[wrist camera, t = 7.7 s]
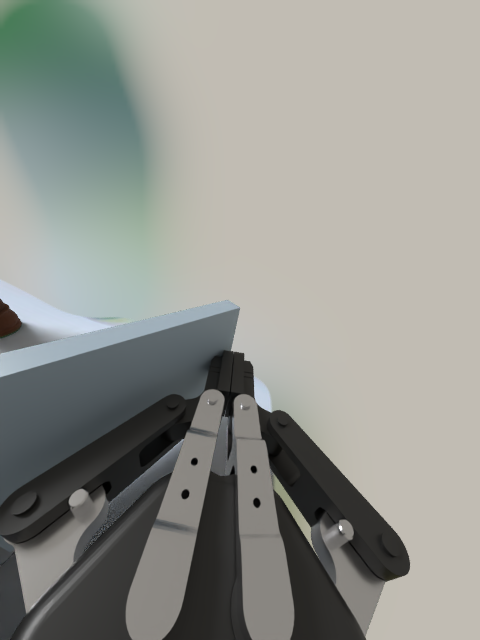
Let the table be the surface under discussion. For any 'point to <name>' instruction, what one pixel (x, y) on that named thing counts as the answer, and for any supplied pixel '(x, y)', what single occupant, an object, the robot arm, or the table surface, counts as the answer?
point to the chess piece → (8, 320)
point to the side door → (99, 385)
